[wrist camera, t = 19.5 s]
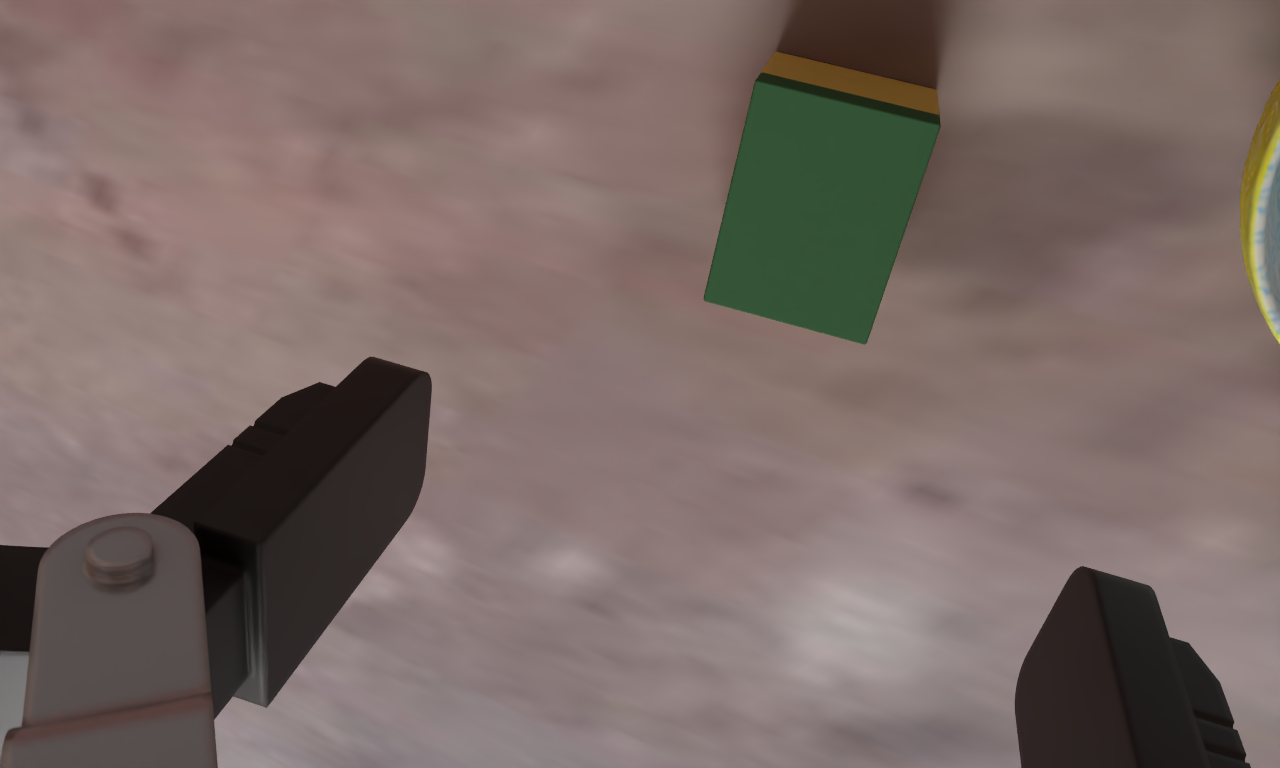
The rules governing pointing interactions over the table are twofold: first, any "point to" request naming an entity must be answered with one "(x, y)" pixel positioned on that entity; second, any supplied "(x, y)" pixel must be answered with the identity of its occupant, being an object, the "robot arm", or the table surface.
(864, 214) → the sponge
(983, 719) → the table surface
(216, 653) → the robot arm
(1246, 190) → the bowl
